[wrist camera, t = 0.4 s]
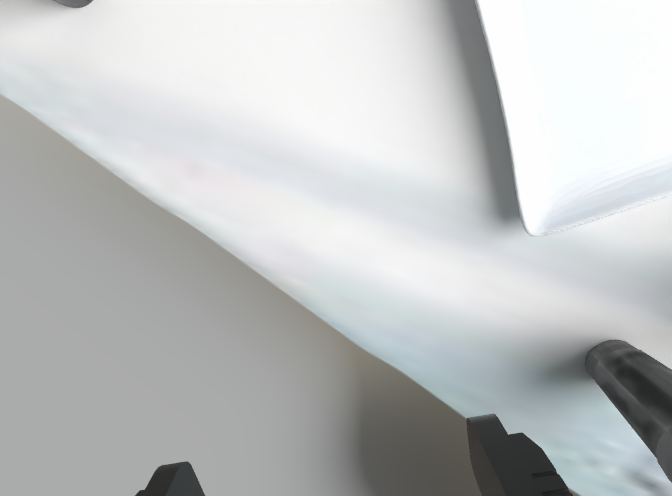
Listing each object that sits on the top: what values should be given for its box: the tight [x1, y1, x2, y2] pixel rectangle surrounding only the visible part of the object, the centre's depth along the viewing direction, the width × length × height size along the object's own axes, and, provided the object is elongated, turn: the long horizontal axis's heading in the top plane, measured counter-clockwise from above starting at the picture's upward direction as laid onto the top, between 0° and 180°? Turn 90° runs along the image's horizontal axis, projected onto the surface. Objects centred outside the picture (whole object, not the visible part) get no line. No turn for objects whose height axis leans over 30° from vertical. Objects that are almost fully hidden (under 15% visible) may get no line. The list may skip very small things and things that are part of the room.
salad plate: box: [475, 0, 672, 236], centre depth 23 cm, size 21×21×3 cm
